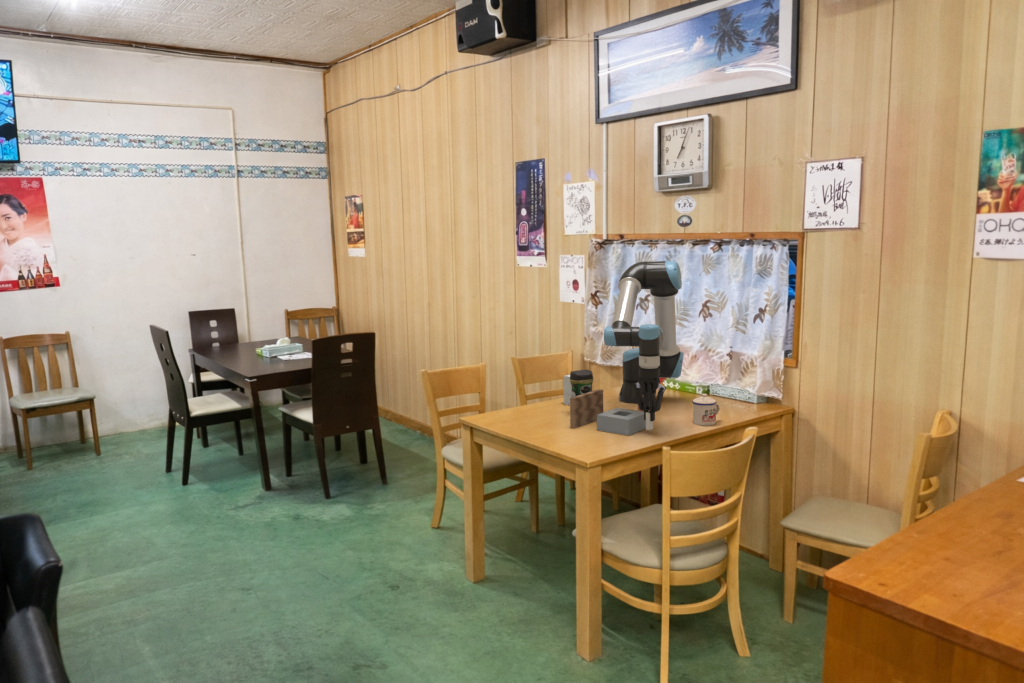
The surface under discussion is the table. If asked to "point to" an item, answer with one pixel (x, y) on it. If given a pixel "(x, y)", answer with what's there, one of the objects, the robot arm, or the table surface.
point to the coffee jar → (581, 382)
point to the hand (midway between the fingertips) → (649, 429)
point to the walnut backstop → (585, 408)
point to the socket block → (621, 421)
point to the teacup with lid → (705, 410)
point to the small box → (567, 389)
